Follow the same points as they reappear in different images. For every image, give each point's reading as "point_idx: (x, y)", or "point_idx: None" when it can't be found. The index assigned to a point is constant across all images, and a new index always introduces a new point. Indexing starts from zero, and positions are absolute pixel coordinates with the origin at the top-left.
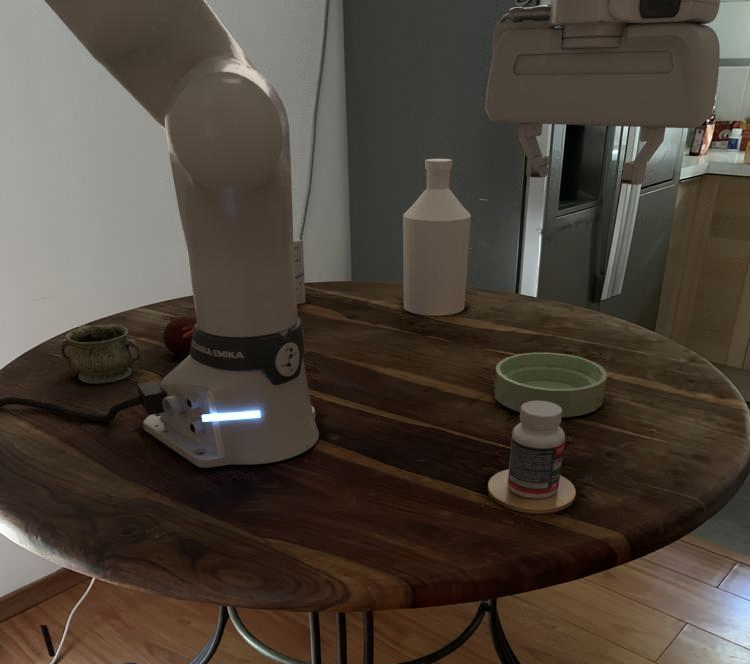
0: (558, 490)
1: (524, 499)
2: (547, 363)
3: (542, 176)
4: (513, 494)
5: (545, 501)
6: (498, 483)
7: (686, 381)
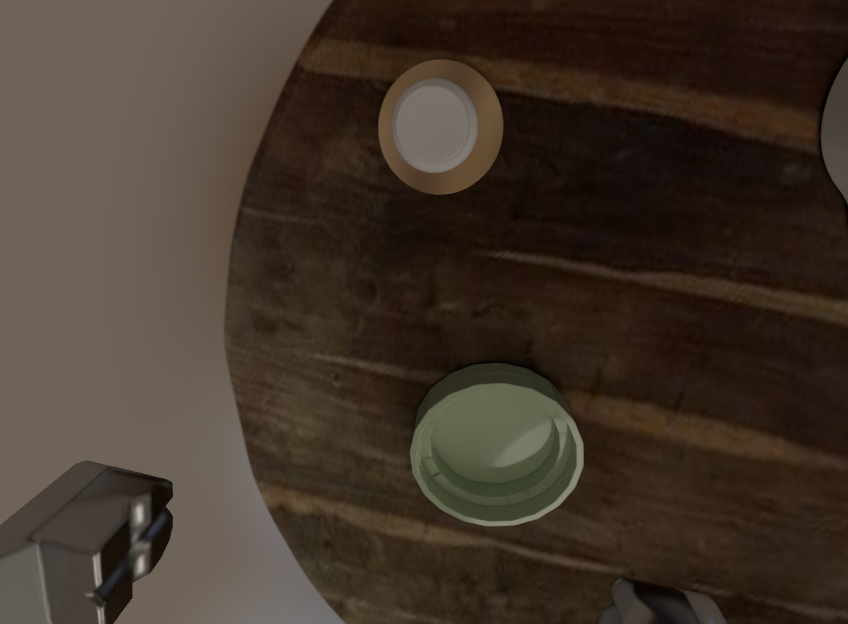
0: None
1: None
2: (512, 507)
3: (612, 595)
4: None
5: None
6: (487, 119)
7: (331, 542)
